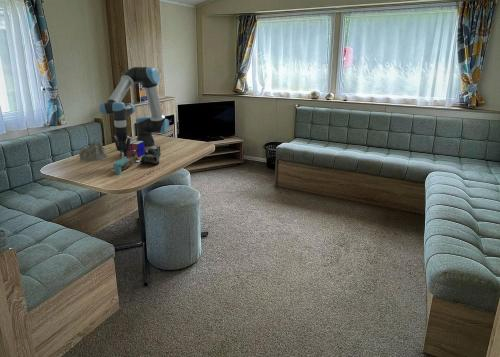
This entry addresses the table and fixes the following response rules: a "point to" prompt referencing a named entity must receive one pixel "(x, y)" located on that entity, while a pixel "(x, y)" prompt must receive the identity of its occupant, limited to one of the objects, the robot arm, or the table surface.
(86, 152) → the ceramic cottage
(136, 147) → the puzzle cube
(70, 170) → the table surface
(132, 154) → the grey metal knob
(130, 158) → the walnut link
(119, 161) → the block
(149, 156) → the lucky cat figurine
